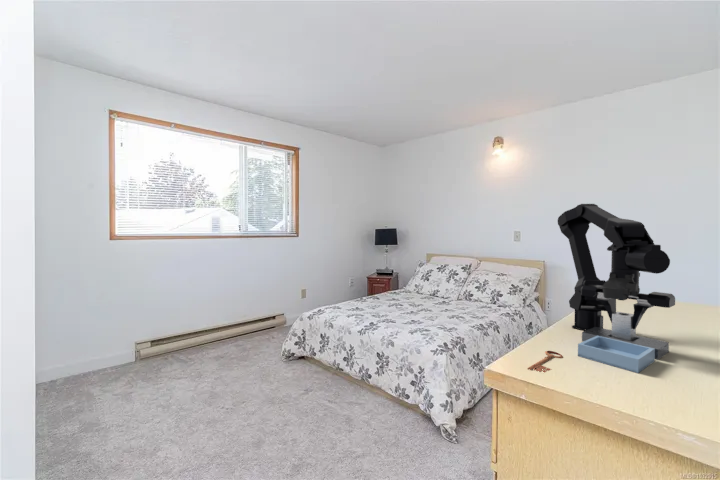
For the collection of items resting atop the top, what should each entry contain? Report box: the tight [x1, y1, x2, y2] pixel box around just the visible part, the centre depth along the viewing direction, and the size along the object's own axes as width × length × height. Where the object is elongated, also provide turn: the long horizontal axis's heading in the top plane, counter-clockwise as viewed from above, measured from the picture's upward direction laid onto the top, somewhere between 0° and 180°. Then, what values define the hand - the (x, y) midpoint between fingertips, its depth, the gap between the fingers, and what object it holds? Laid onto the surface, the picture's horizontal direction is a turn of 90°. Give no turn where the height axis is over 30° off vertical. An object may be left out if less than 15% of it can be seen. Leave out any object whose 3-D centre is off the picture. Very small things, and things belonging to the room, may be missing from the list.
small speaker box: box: [611, 311, 637, 342], centre depth 85 cm, size 4×4×7 cm
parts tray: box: [577, 336, 656, 374], centre depth 77 cm, size 12×12×3 cm
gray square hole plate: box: [581, 327, 670, 361], centre depth 85 cm, size 16×9×2 cm, turn 34°
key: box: [526, 350, 564, 373], centre depth 75 cm, size 6×1×15 cm
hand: (623, 326), depth 85 cm, fingers closed on small speaker box, 4 cm apart
